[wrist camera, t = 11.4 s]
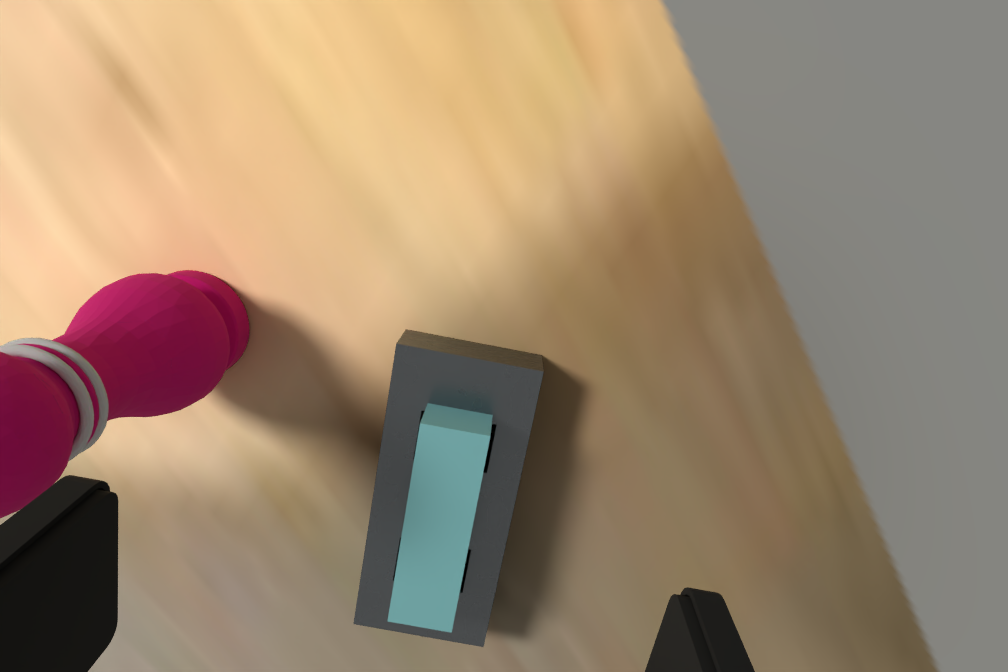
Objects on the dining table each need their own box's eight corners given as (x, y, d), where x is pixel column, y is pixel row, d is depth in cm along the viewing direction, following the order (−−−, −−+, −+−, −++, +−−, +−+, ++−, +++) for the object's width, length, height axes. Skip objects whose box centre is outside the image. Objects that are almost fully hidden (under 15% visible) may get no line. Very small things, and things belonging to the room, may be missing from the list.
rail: (406, 329, 37) (396, 343, 34) (541, 355, 37) (543, 371, 34) (365, 591, 42) (353, 623, 39) (485, 613, 42) (483, 646, 39)
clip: (434, 385, 38) (420, 423, 32) (494, 396, 38) (490, 436, 32) (404, 560, 41) (387, 621, 35) (460, 570, 41) (451, 632, 35)
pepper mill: (285, 329, 37) (29, 510, 18) (202, 405, 38) (-119, 650, 19) (192, 234, 36) (-194, 319, 16) (109, 316, 37) (-335, 483, 18)
